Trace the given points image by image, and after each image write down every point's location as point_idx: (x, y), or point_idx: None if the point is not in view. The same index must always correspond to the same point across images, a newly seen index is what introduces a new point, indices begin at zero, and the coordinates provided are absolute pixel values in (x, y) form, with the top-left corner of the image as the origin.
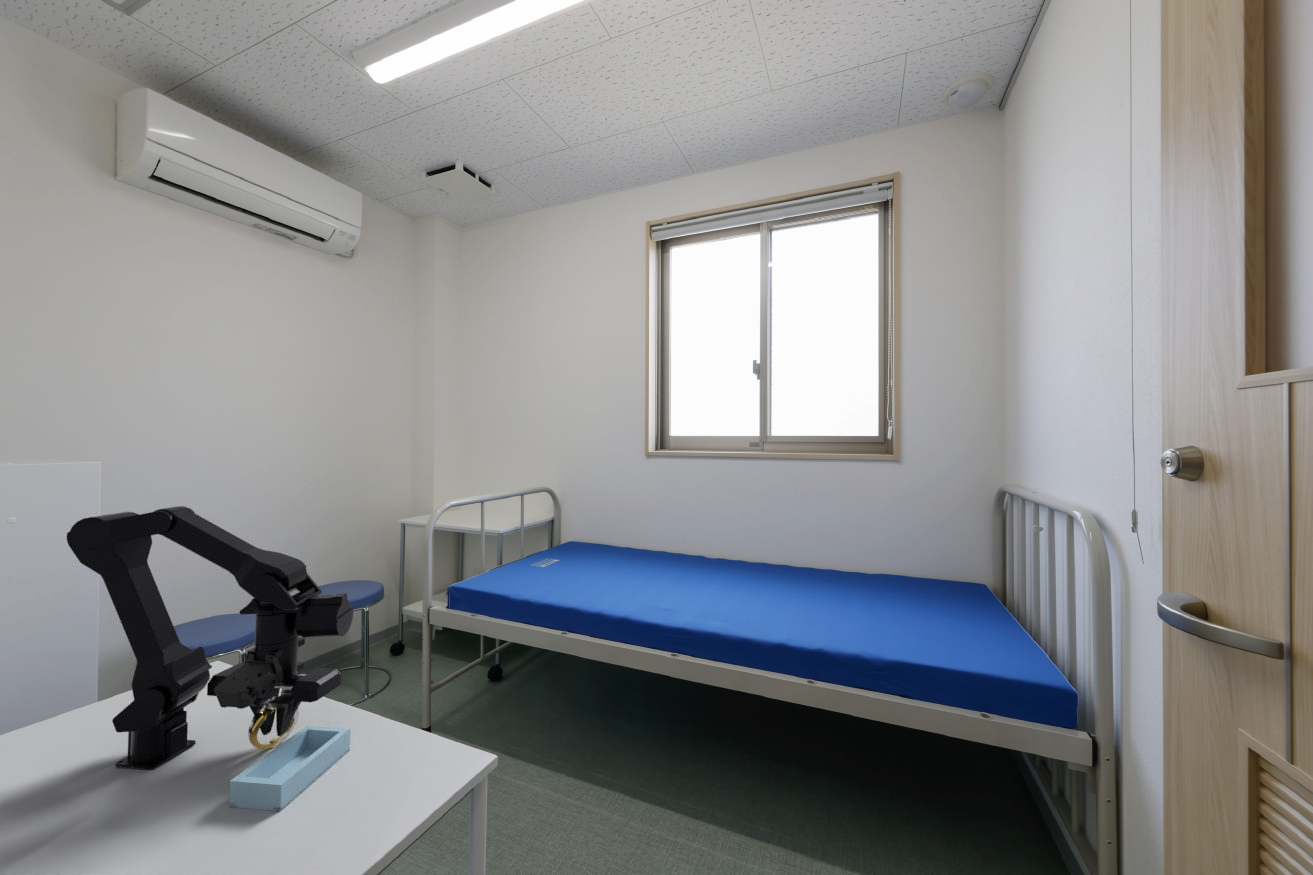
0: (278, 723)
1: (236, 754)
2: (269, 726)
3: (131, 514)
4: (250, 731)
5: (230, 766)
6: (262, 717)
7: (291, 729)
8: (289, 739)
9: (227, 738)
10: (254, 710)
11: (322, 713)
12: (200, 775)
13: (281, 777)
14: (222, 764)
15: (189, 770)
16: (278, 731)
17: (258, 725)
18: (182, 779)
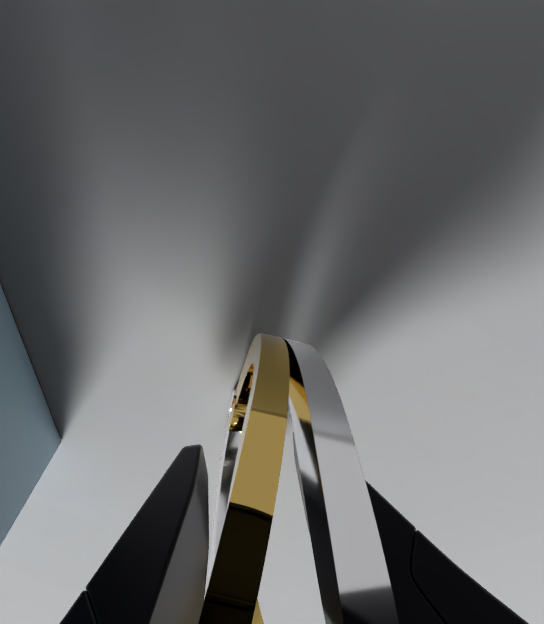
0: (152, 527)
1: (385, 306)
2: (302, 487)
3: None
4: (301, 381)
5: (320, 213)
6: (233, 556)
7: (217, 507)
8: None
9: (538, 389)
10: (461, 611)
11: (263, 607)
12: (424, 98)
13: None
14: (384, 218)
15: (530, 129)
16: (180, 468)
17: (239, 450)
18: (504, 38)
